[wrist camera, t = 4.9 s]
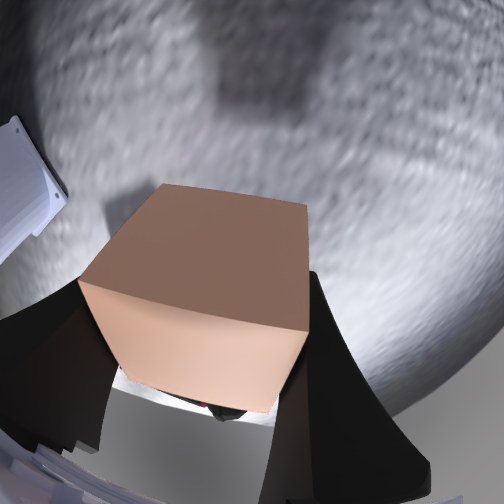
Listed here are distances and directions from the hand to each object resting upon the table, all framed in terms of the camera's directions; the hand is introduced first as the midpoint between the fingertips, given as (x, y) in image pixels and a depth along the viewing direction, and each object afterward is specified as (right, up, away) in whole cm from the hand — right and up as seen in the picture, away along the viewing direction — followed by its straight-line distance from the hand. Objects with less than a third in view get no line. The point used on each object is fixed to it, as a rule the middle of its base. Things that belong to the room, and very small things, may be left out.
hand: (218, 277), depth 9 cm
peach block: (0, +1, +1) cm, 1 cm away
